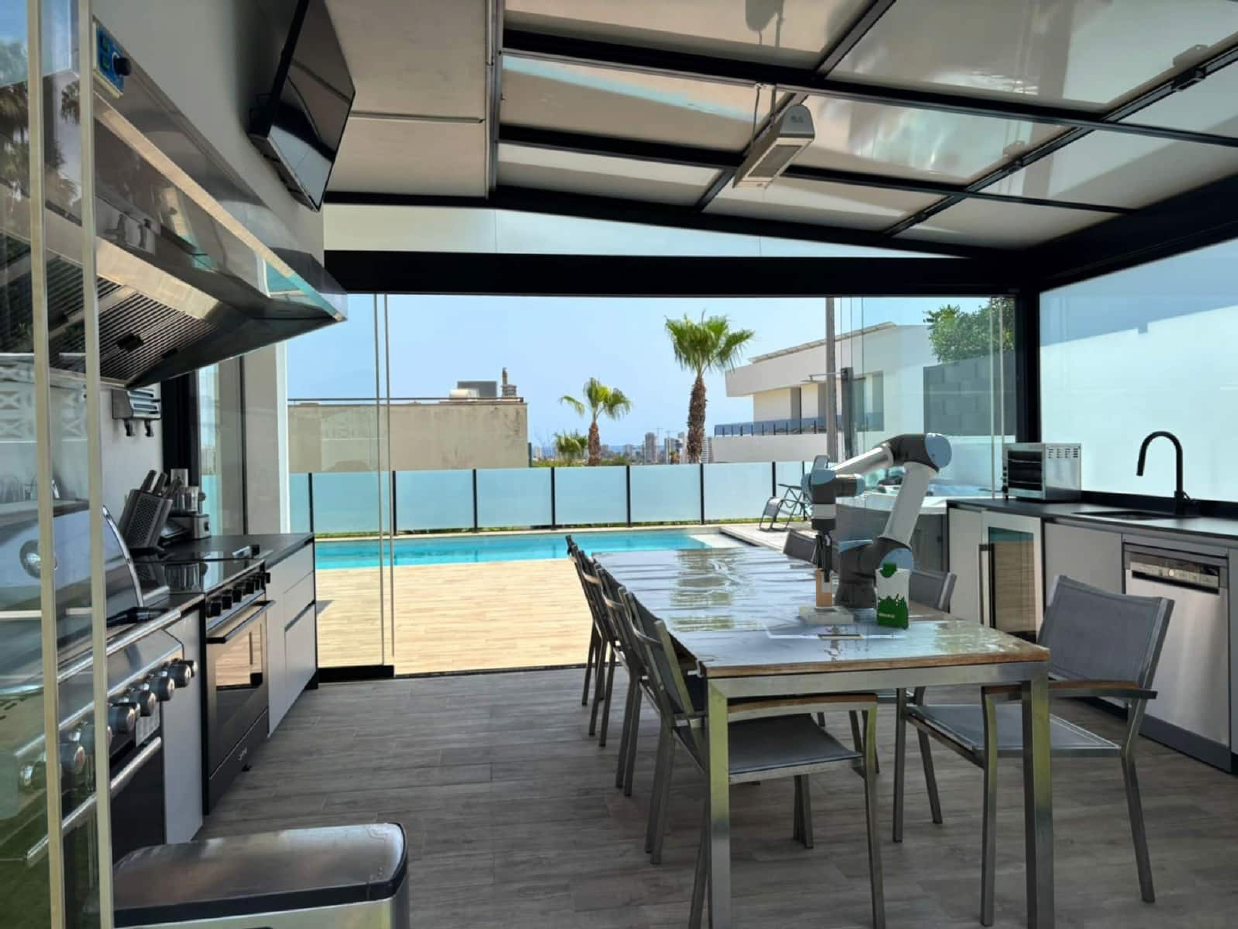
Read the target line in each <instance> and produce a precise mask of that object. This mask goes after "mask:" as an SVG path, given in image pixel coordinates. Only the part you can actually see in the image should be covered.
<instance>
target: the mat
mask: <svg viewBox="0 0 1238 929" xmlns="http://www.w3.org/2000/svg"><path fill="white" fill-rule="evenodd" d="M816 635H817V636H818V637H819V638H820V639H821V641H864V640H865V639H864V637H863V636H862V635H860V634H855V633H854V634H851V633H850V634H849V633H848V634H847V633H846V634H845V633H844V634H840V633H839V634H837V633H836V634H829V633H828V634H827V633H826V634H825V633H824V634H823V633H822V634H816Z"/></svg>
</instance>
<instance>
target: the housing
mask: <svg viewBox="0 0 1238 929" xmlns="http://www.w3.org/2000/svg"><path fill="white" fill-rule="evenodd" d="M798 606H799V605H798ZM798 610H799V611H798V615H799V617H800V618H801V619H802V621H804V623H806V625H808V626H811V625H812V626H820V625H821V626H825V625H827V626H828V625H829V626H830V625H831V626H832V625H833V626H834V625H835V626H836V625H837V626H839V625H842V626H845V625H847V626H848V625H851V626H852V625H855V624H854V623H855V622H854V613H852V612H850V610H849V609H848V608H844V607H843V606H833V605H832V607H817V606H816V605H800V606H799V607H798Z"/></svg>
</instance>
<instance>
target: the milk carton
mask: <svg viewBox="0 0 1238 929" xmlns="http://www.w3.org/2000/svg"><path fill="white" fill-rule="evenodd" d="M875 571H876V580H875V581H876V595H877V609H876V626H880V627H888V628H894V629H902V630H905V629H908V628H909V580H910V576H909V571H910V569H900V568H897V564H896V563H883V568H881V569H877V570H875Z"/></svg>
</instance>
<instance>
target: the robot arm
mask: <svg viewBox="0 0 1238 929" xmlns="http://www.w3.org/2000/svg"><path fill="white" fill-rule="evenodd" d="M952 457H953V451H952V446H951V443H950V441H949V439H948V438H947V437H946V436H945V435H943V434H941V433H935V432H934V433H933V432H929V433H904V434H899V435H895V436H893V437H891V438H888V439H885V440H883V441H880V442H878V443H876V444H875V445H873V446H872V447H871V449H869V450H867V451H865V452H862V453H860V454H858V455H856V456H853V457H851V458H849V459H846V460H843V461H841V462H839V463H837V464H833V465H832V466H830V467H828V468H827V467H826V468H813V469H812V471H811V472H807V473H805V474H804V475H803V476H802V477H801V480H800V487H801V491H802V493H804V494H806V495H808V496H809V495H810V498H811V500H810V501H811V506H810V507H809V510H810V511H811V516H812V518H811V519H810V520H811V526H810V527H811V530H813V531H817V534H815V535H814V538H815V562H814V563H815V564H814V565H815V566H816V568H817V569H816V570H820V572H822V593H831V571H834V567H833V539H832V536H831V534H830V531H835V530H836V529H837V519H836V518H835V517H836V516H837V499H838V498H841V499H842V498H855V497H860V496H861V495H863V494H864V492H865V490H866V481H865V479H864V477H866V476H868V475H870V474H872V473H875V472H877V471H880V470H883V471H884V470H885V471H886V470H890V469H892V468H897V467H899V468H900V467H903V469H904V470H905V472H904V475H903V478H902V480H901V484H900V486H899V488H898V491H897V495H896V498H895V500H894V503H893V506H892V508H891V511H890V514H889V517H888V520H887V523H886V526H885V528H884V530H883V533H882V534H880V535H877V537H876V539H875V542H874V540H872V539H862V540H861V539H859V540H847V541H841V542H840V543H839V544H838V552H837V568H838V569H837V570H838V572H837V573H838V575H837V576H838V582H837V583H838V585H837V588H836V591H835V594H834V596H833V599H832V606H843V607H844V608H846V609H848V608H849V609H874V610H877V591H876V589H875V586H874V581H876V571H875V570H877V569H881V568H883V563H896V564H897V568H900V569H910V571H909V577H910V576H911V575H912V573H913V571H914V567H915V562H914V560H915V558H914V555H913V553H912V546H911V545H910V540H911V539H912V535H913V532H914V529H915V526H916V524H917V521H918V517H919V515H920V512H921V508H923V507H922V506H923V503H924V500H925V497H926V496H927V495H926V494H927V491H928V489H929V486H930V483H931V480H933V479H934V478H937V477H938V475H939V472H940V470H941V469H944V468H946V467H948V466H949V465H950V463H951V461H952Z"/></svg>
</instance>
